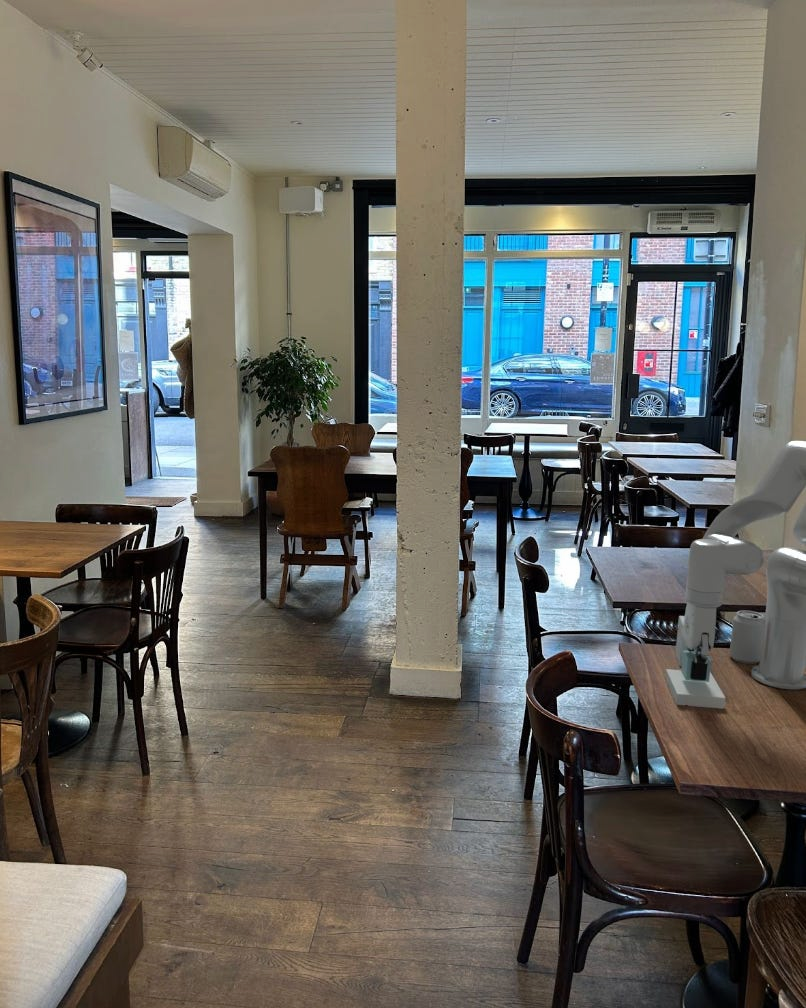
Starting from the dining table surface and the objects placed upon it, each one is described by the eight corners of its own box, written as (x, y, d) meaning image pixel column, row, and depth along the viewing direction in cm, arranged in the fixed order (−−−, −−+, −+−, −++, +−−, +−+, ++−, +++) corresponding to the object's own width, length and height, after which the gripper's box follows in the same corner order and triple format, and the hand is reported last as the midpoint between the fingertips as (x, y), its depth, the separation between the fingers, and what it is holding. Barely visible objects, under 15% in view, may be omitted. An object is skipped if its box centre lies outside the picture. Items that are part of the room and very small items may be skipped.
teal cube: (681, 671, 185) (683, 650, 184) (704, 673, 184) (706, 652, 183) (685, 680, 180) (687, 658, 179) (709, 682, 179) (711, 660, 178)
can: (759, 667, 199) (765, 620, 197) (727, 661, 203) (732, 615, 200) (762, 657, 205) (768, 612, 203) (731, 651, 209) (736, 607, 207)
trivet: (665, 679, 190) (666, 669, 190) (709, 682, 189) (710, 672, 188) (676, 704, 176) (677, 693, 176) (724, 708, 175) (725, 697, 175)
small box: (703, 669, 197) (707, 627, 195) (679, 666, 198) (683, 625, 196) (698, 657, 205) (702, 617, 203) (675, 654, 206) (678, 615, 204)
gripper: (678, 584, 187) (671, 658, 191) (693, 606, 170) (685, 688, 174) (712, 586, 186) (704, 661, 190) (731, 609, 169) (721, 691, 173)
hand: (695, 673), depth 182 cm, fingers closed on teal cube, 5 cm apart
